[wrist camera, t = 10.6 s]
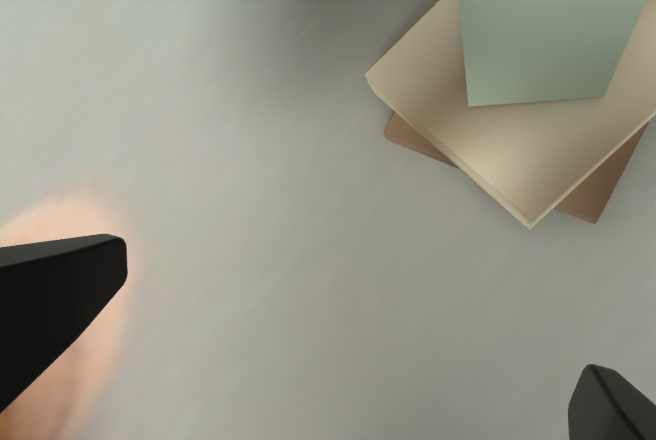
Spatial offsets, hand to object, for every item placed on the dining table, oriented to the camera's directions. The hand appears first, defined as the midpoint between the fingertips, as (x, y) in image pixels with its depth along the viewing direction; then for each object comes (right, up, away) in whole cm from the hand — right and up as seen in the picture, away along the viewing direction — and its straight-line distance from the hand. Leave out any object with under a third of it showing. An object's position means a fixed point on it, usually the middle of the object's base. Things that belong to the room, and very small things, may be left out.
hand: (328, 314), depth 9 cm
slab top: (+8, +8, +10) cm, 15 cm away
